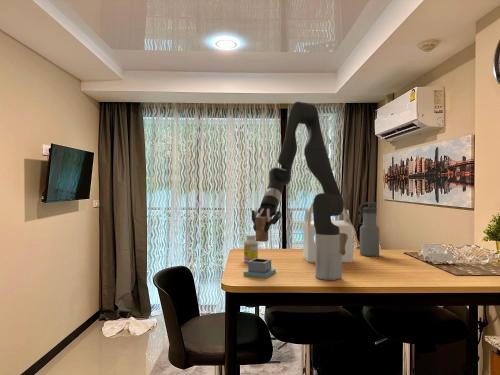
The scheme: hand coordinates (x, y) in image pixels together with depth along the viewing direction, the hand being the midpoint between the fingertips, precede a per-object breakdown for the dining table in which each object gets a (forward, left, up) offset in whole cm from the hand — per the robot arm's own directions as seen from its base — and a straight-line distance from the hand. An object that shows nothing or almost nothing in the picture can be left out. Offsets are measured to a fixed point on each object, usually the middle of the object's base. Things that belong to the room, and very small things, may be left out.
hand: (260, 230), depth 137 cm
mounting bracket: (-39, -79, -18) cm, 90 cm away
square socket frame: (0, +1, -16) cm, 16 cm away
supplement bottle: (+21, -12, -18) cm, 30 cm away
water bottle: (-7, -71, -18) cm, 74 cm away
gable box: (0, -44, -18) cm, 48 cm away
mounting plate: (0, +1, -18) cm, 18 cm away
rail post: (+1, -2, -5) cm, 5 cm away
